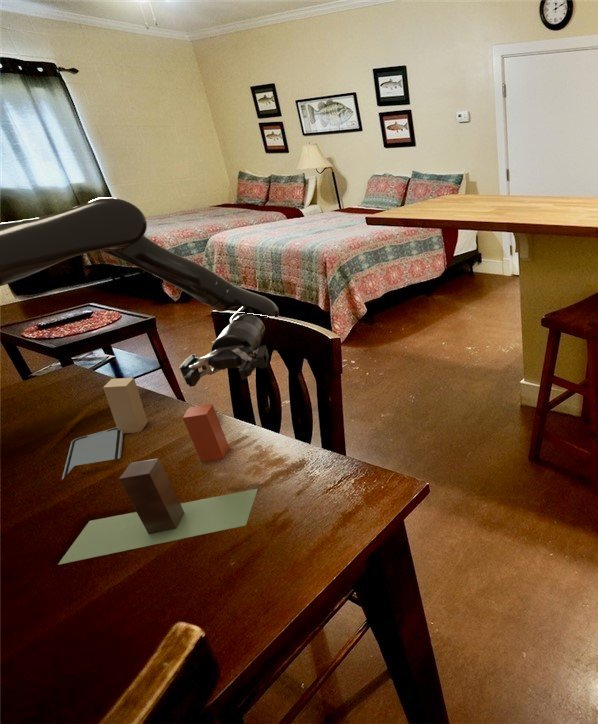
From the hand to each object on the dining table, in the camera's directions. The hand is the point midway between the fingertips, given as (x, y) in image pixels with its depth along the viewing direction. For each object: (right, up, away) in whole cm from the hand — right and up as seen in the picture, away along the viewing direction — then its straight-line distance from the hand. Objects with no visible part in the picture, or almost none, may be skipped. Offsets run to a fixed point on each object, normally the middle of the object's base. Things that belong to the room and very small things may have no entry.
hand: (216, 378), depth 87 cm
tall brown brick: (+6, -20, -19) cm, 28 cm away
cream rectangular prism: (-19, -10, +4) cm, 21 cm away
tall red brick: (+3, -14, -5) cm, 15 cm away
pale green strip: (+6, -21, -19) cm, 29 cm away
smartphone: (-18, -14, -4) cm, 23 cm away
